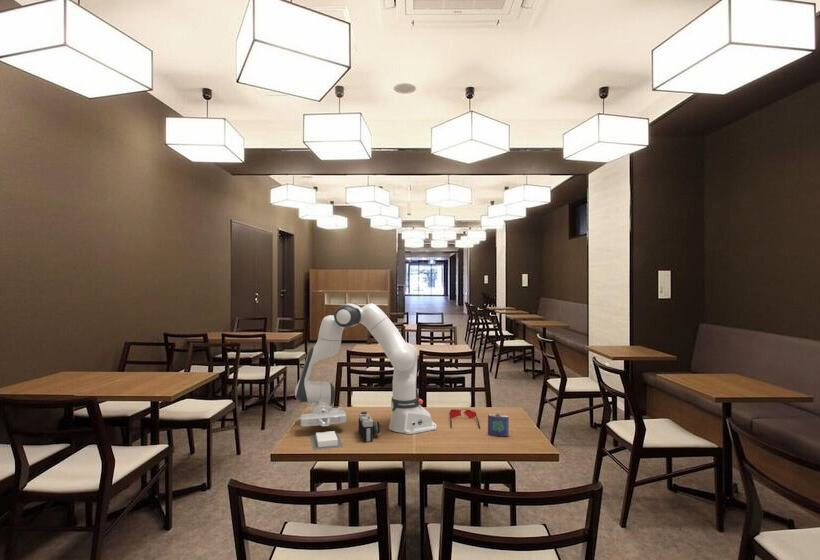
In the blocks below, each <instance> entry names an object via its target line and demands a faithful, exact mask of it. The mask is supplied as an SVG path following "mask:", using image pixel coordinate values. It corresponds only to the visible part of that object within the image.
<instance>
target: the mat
mask: <svg viewBox="0 0 820 560" xmlns="http://www.w3.org/2000/svg"><path fill="white" fill-rule="evenodd" d="M335 434H336V436H337V439H338V446H329V447H319V448H318V445H317V441H316V433H315V434H309V436H310V441H311V446H312V450H313V451H318V450H327V449H329V450H330V449H338V448H340V449H341V448H344V446H343V443H342V440H341V438H340V436H339V433H338V432H336V431H335Z"/></svg>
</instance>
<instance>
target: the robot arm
mask: <svg viewBox="0 0 820 560" xmlns="http://www.w3.org/2000/svg"><path fill="white" fill-rule="evenodd" d="M358 324H362V325H363V326H364V327H365V328H366V329H367V330H368V331H369V333H370V334H371V335H372V337H373V338H374V339H375V341H377V343H378V345H379V346H380V347H381V349H382V350H383V352H384V354H385V356H386V357H387V359H388V360H389V362H390V364H391V366H392V367H393V376H392V397H391V401H390V402H391V404H390V405H391V407H390V409H391V415H390V422H389V425H388V429H389V430H390V431H392V432H394V433H395V432H397V433H401V434H406V435H414V434H419V433H425V432H430V431H436V430H437V428H438V427H437V424H436V423H435V422H434V421H433V419H432V416H431V414H430V412H429V411H428V410H427V409H425V408H424V407H423V406H422V405H423V403H424V400H423V399H421V398H419V397H417V375H418V350H417V348H416V346H415V345H413V344H412V343H410V342H406V341H405V339H404V338H403V336H402V334H401V333H400V331H399V329H398V328H397V327H396V325H395V324H394V323H393V322H392V320H391V319H390V318H389V317H388V316H387V314H386V313H385V312H384V311H383V310H382V309H381V308H380V307H379V306H378V305H376V304H375V303H367V304H365V305H364V306H360V305H359V304H357V303H345V304H342V305H339V306H337V308H336V309H335V311H334V314H332V315H331V314H329V315H326V316H324V317H323V318H322V320H321V323H320V327H319V331H318V334H317V335H318V336H317V337H318V338H317V341H316V343H315V344H314V346H312V347H311V348H310V349H309V350H308V352H307V355H306V357H305V360H304V363H303V367H302V370H301V373H300V377H299V380H298V382H297V384H296V386H295V389H294V396H295V399H296V400H297V401H298V402H299V403H309V402H311V406H310V412H311V413H304V414H301V416H299V421H300V426H301V427H303V428H305V427H314V426H321V427H329V426H330V425H339V424H346V423H347V422H348V418H347V417H348V416H347V413H346V412H345V410H343V409H342V407H341V406H333V404H334V402H335V398H336V388H335V386H334V384H333V383H332V382H331V381H318V380H317V381H315V380H309V379H310V376H311V372H312V369H313V367H314V364H316V363H318V362H319V361H322V360H325V359H327V358H331V357H333V356H335V355H336V354H338V352H339V351H340V349H341V344H342V337H343V331H344V329H345V328H346V329H347V328H353V327H355V326H357V325H358Z"/></svg>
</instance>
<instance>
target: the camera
mask: <svg viewBox="0 0 820 560" xmlns="http://www.w3.org/2000/svg"><path fill="white" fill-rule="evenodd" d="M380 427H381V426H380V423H379V422H378V421H374V420H373V418H372V416H370V413H369V412H368V411H361V412H358V434H359V436H360V438H361V440H362V441H363V443H364V444H365V443H372V442H374V437H375V436H376V435H379V434H380V433H381V432H380V431H381V428H380Z"/></svg>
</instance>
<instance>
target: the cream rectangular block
mask: <svg viewBox="0 0 820 560" xmlns="http://www.w3.org/2000/svg"><path fill="white" fill-rule="evenodd" d="M335 433H336V431H335V430H333V431H332V430H331V431H321V432H315V434H316V441H317V445H318V448H319V447H329V446H338V439H337V436H336V434H335Z"/></svg>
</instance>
